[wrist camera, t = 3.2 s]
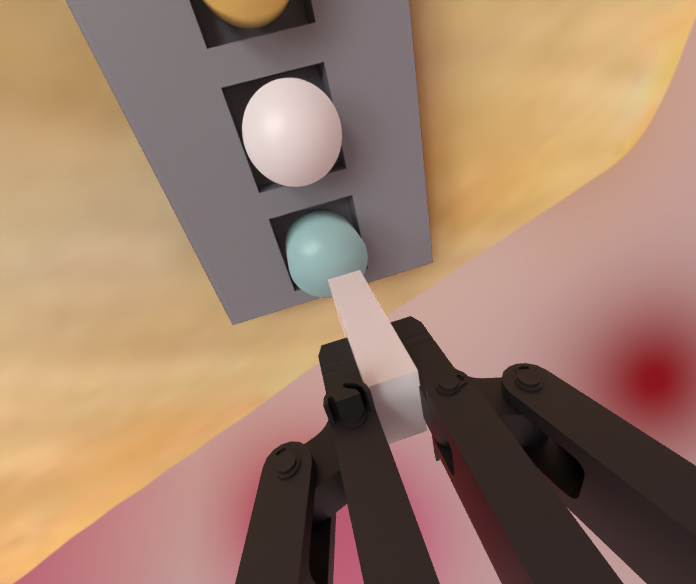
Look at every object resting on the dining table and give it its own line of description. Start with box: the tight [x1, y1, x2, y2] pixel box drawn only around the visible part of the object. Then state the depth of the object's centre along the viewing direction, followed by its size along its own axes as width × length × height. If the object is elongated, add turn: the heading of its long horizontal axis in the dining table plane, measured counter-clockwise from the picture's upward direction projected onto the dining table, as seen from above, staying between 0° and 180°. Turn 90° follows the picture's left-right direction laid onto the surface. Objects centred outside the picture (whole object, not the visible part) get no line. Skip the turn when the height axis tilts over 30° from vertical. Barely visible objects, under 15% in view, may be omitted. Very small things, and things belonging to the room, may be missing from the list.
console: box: [66, 0, 433, 325], centre depth 18 cm, size 20×14×3 cm
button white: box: [242, 78, 342, 187], centre depth 16 cm, size 4×4×3 cm
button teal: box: [285, 209, 368, 297], centre depth 19 cm, size 4×4×3 cm
